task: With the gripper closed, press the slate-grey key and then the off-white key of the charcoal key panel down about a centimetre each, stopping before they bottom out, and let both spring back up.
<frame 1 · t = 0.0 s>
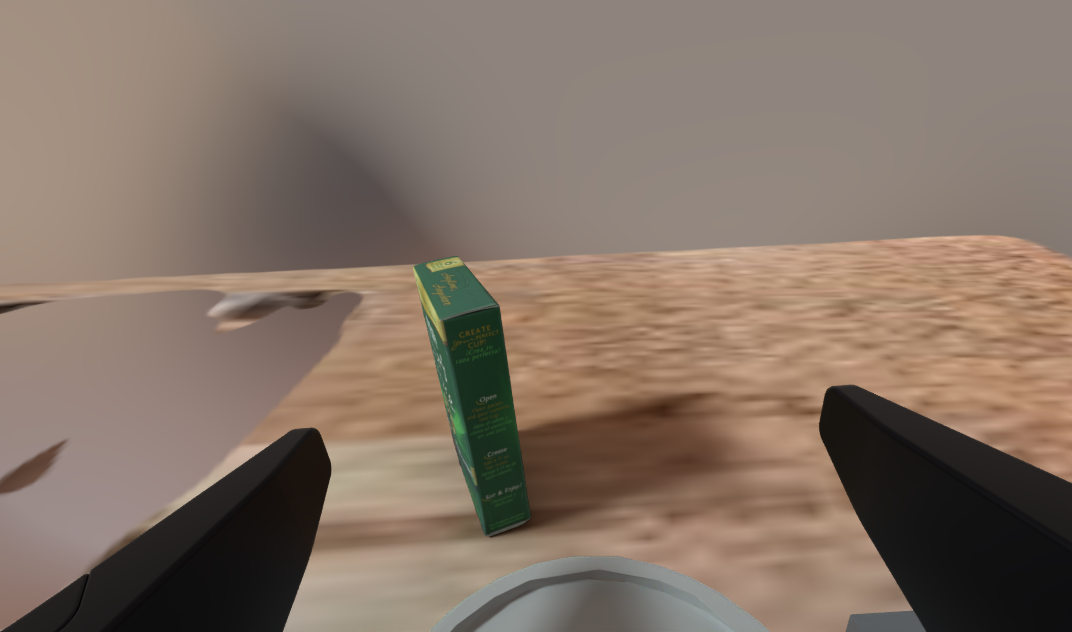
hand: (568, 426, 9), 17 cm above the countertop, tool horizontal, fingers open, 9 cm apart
coffee box: (489, 483, 31), on the countertop
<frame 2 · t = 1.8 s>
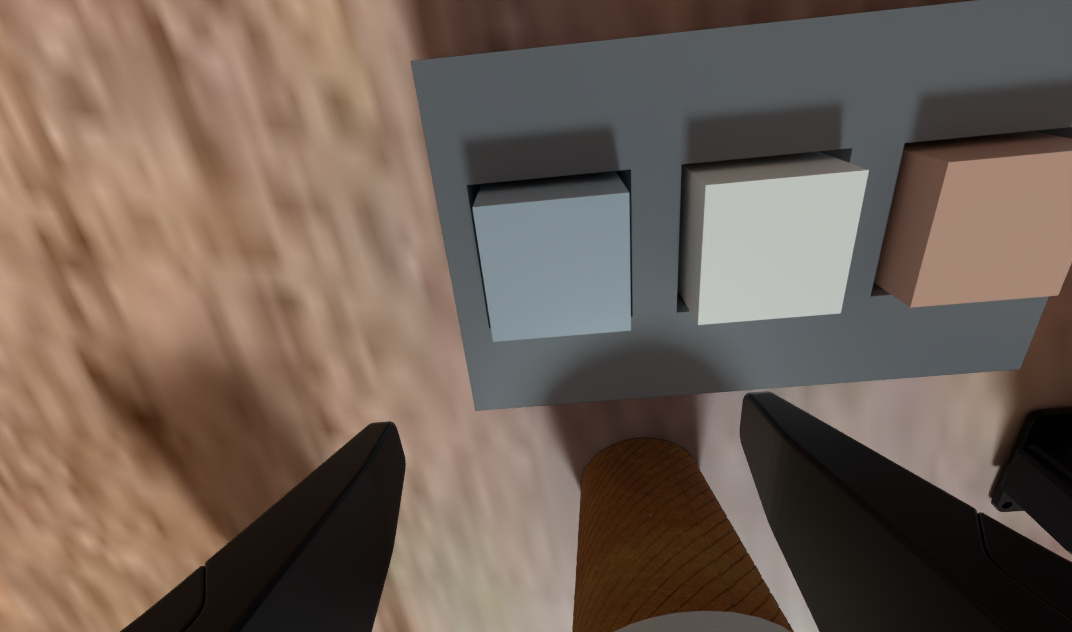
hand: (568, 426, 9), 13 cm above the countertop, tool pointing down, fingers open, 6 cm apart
pale key: (752, 231, 17), point 4 cm above the countertop, slide at 0.0 cm
slate key: (554, 249, 17), point 4 cm above the countertop, slide at 0.0 cm
key panel: (714, 200, 20), on the countertop
rust key: (956, 213, 17), point 4 cm above the countertop, slide at 0.0 cm
disposable coffee cup: (639, 480, 28), on the countertop
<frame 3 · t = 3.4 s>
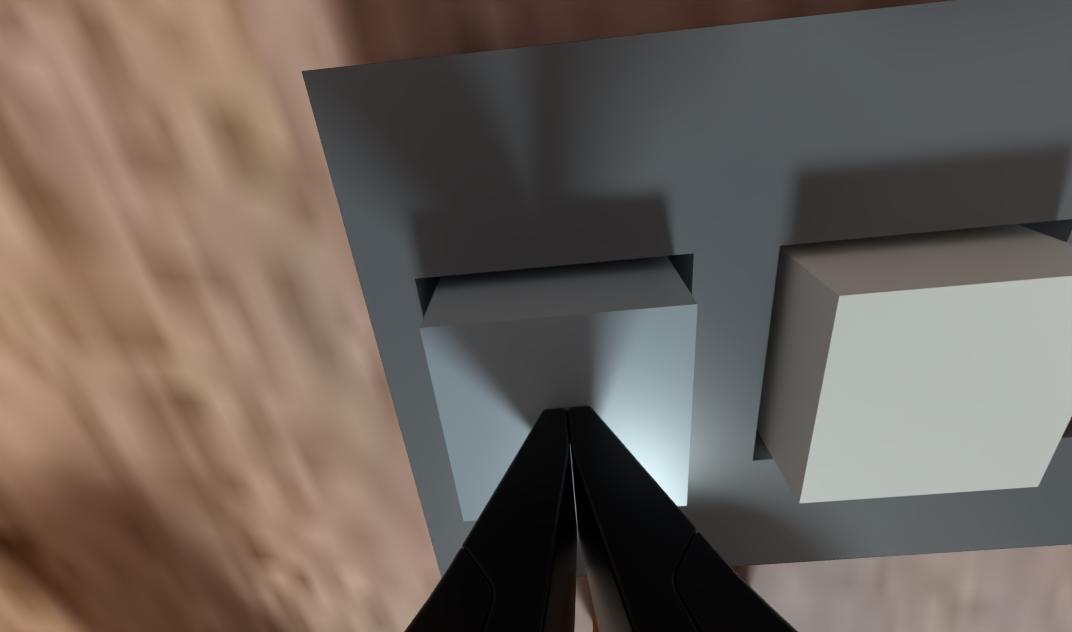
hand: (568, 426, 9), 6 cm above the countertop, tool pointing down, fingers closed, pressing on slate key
pale key: (879, 341, 11), point 4 cm above the countertop, slide at 0.0 cm
slate key: (561, 364, 11), point 4 cm above the countertop, slide at 0.1 cm, touching gripper
key panel: (792, 267, 14), on the countertop
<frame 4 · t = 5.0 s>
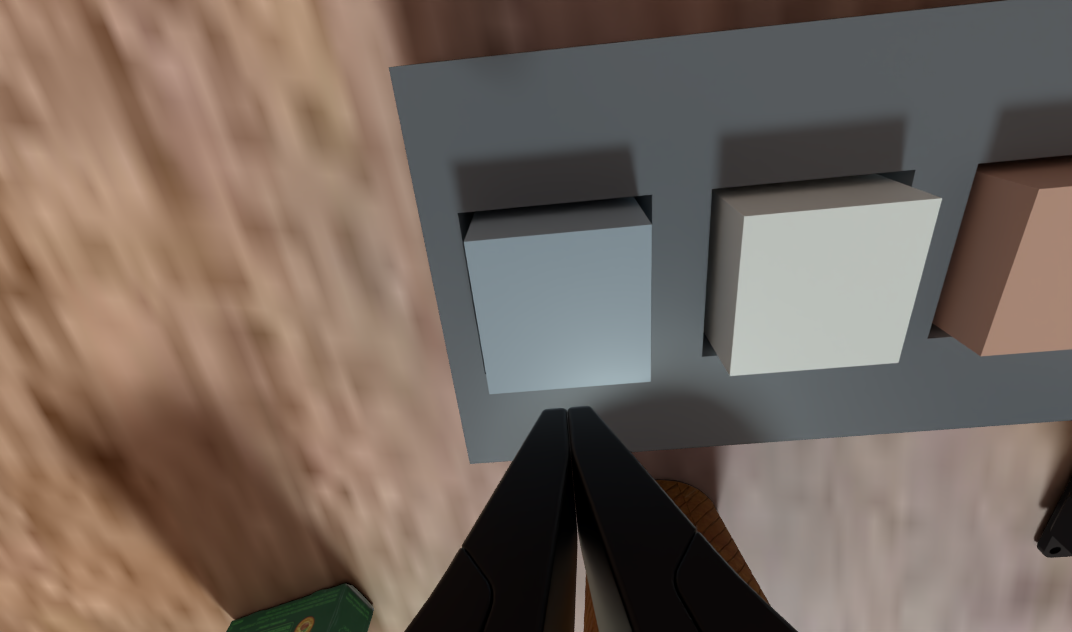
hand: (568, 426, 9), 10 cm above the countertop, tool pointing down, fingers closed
coffee box: (303, 609, 28), on the countertop
pale key: (791, 264, 15), point 4 cm above the countertop, slide at 0.0 cm
slate key: (560, 284, 15), point 4 cm above the countertop, slide at 0.0 cm
key panel: (741, 222, 18), on the countertop
rust key: (1031, 243, 14), point 4 cm above the countertop, slide at 0.0 cm
disposable coffee cup: (651, 523, 25), on the countertop
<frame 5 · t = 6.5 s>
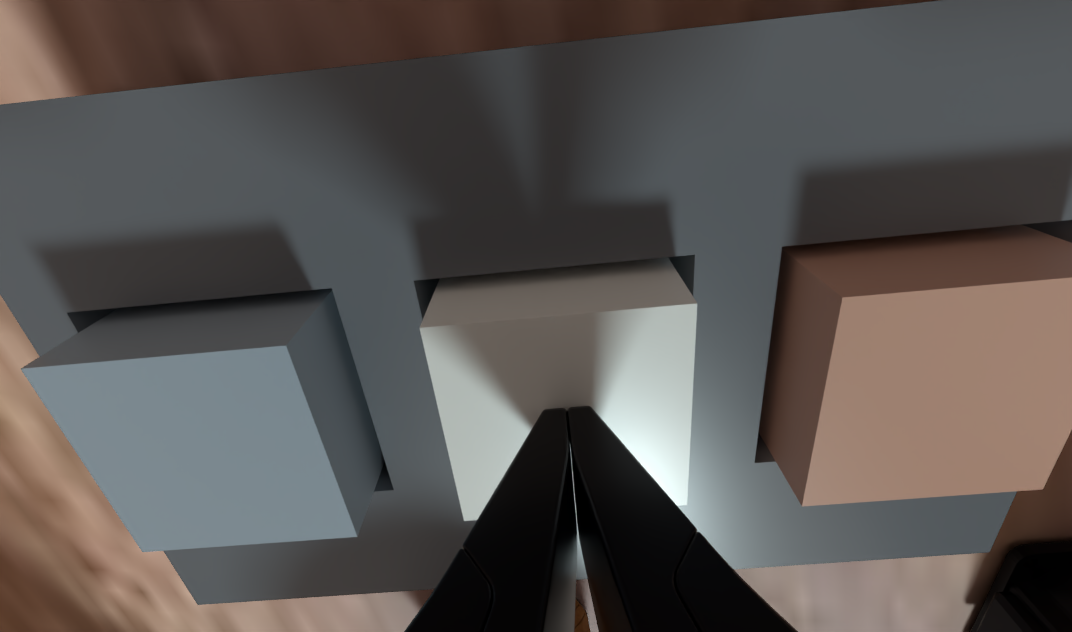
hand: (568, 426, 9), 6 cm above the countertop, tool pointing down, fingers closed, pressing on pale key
pale key: (561, 364, 11), point 4 cm above the countertop, slide at 0.2 cm, touching gripper
slate key: (258, 394, 11), point 4 cm above the countertop, slide at 0.0 cm
key panel: (555, 290, 14), on the countertop
rust key: (882, 343, 10), point 4 cm above the countertop, slide at 0.0 cm
disposable coffee cup: (512, 620, 21), on the countertop
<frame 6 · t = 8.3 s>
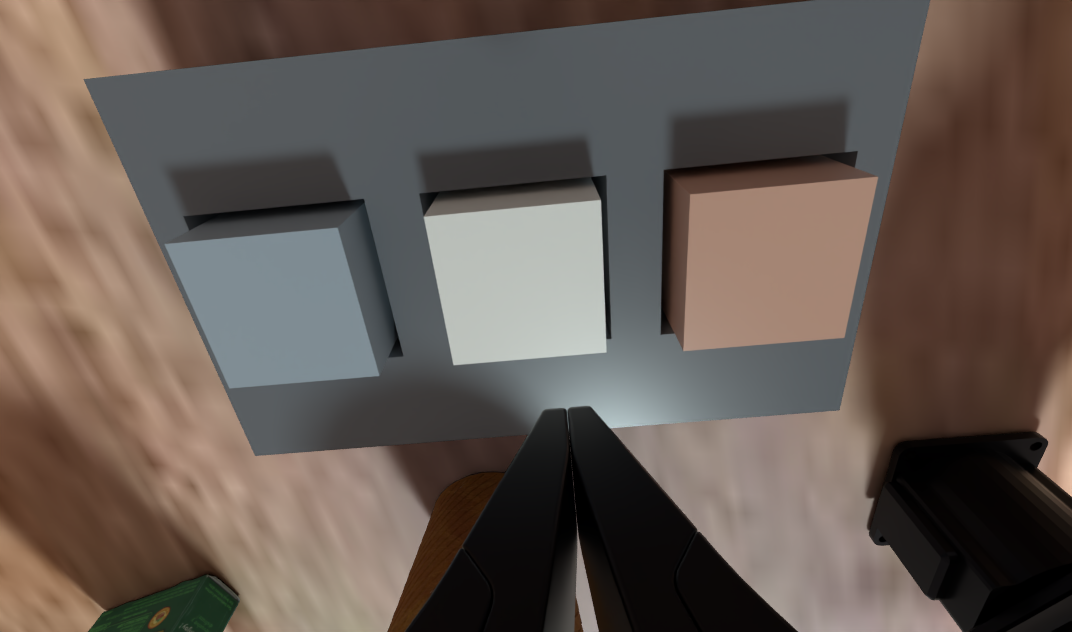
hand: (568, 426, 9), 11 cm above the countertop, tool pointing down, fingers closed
coffee box: (173, 600, 29), on the countertop
pale key: (522, 261, 16), point 4 cm above the countertop, slide at 0.3 cm
slate key: (308, 283, 16), point 4 cm above the countertop, slide at 0.0 cm
key panel: (524, 223, 19), on the countertop
rust key: (744, 244, 15), point 4 cm above the countertop, slide at 0.0 cm
disposable coffee cup: (496, 514, 26), on the countertop
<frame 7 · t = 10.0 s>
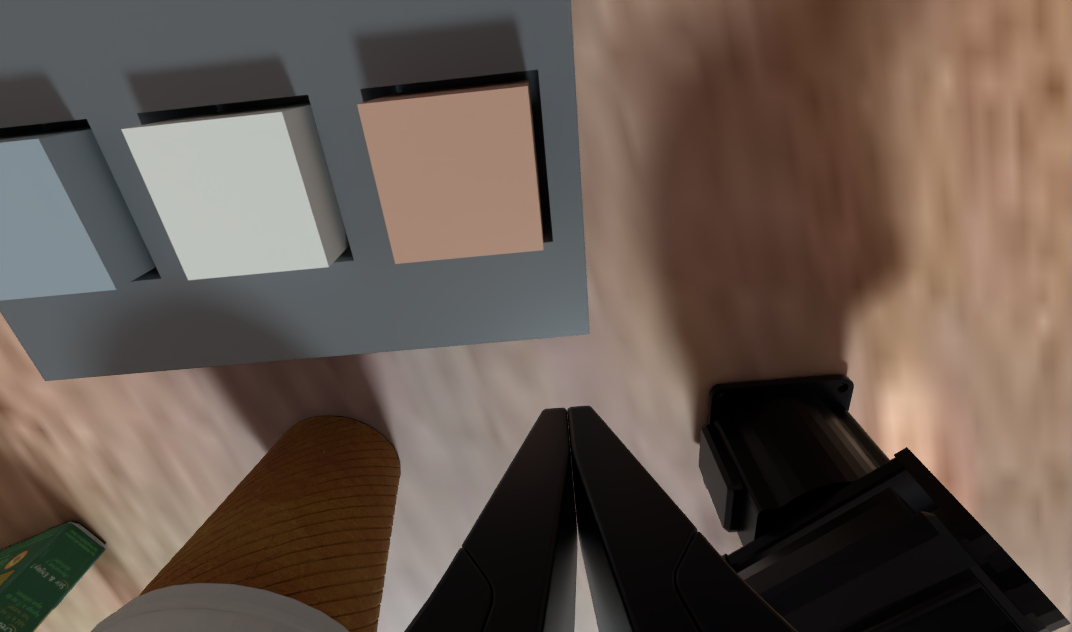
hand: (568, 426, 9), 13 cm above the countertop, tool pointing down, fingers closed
coffee box: (45, 549, 30), on the countertop
pale key: (264, 185, 16), point 4 cm above the countertop, slide at 0.3 cm
slate key: (63, 207, 17), point 4 cm above the countertop, slide at 0.0 cm
key panel: (309, 162, 20), on the countertop
rust key: (465, 167, 16), point 4 cm above the countertop, slide at 0.0 cm
disposable coffee cup: (341, 460, 27), on the countertop
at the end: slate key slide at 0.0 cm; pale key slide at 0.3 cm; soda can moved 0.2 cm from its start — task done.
